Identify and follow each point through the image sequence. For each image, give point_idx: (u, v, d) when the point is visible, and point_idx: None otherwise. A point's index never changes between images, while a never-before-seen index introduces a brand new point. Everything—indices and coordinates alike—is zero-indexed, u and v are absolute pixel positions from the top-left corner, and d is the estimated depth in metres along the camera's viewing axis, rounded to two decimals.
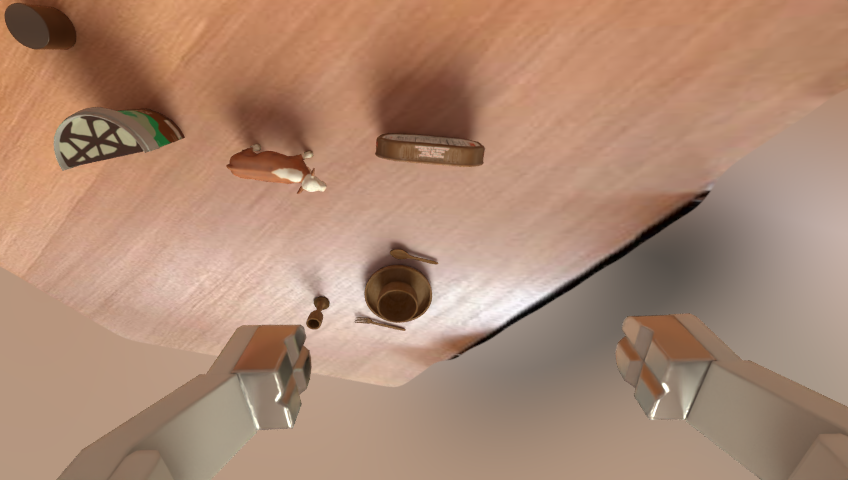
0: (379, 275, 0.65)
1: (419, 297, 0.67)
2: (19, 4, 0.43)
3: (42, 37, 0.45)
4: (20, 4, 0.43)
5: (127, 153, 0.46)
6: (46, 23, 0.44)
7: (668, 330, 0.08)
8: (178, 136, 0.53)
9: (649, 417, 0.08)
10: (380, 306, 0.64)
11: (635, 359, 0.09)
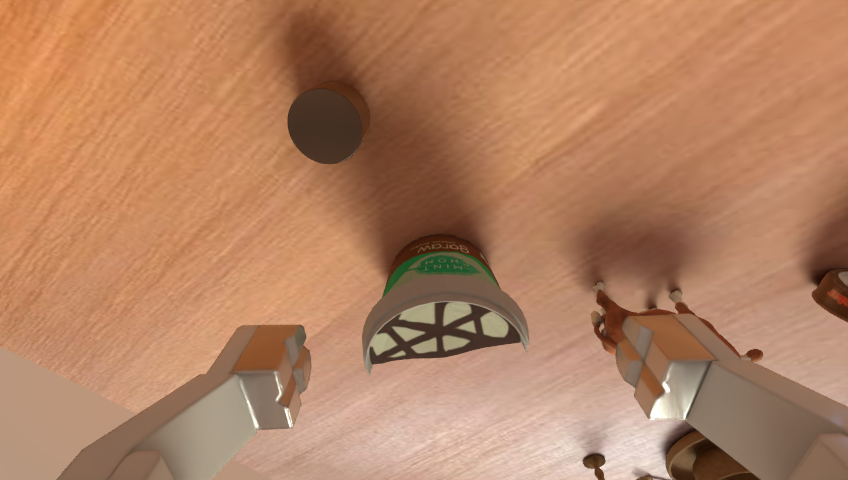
0: None
1: None
2: (323, 90, 0.23)
3: (347, 145, 0.24)
4: (325, 90, 0.23)
5: (483, 346, 0.26)
6: (361, 121, 0.24)
7: (668, 330, 0.08)
8: None
9: (650, 418, 0.08)
10: None
11: (635, 359, 0.09)
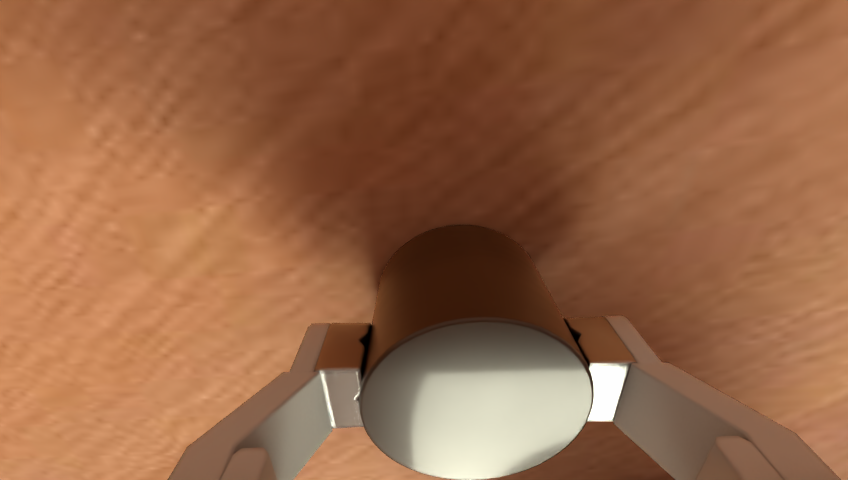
0: None
1: None
2: (496, 324, 0.07)
3: (533, 447, 0.08)
4: (501, 323, 0.07)
5: None
6: (593, 393, 0.07)
7: (596, 332, 0.08)
8: None
9: None
10: None
11: None
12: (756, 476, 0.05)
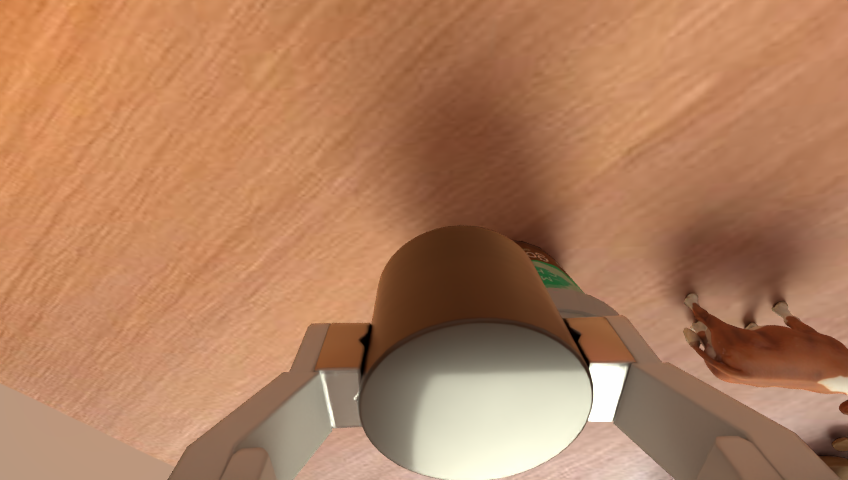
0: None
1: None
2: (495, 325, 0.07)
3: (533, 448, 0.08)
4: (501, 324, 0.07)
5: None
6: (592, 394, 0.07)
7: (596, 332, 0.08)
8: None
9: None
10: None
11: None
12: (756, 476, 0.05)
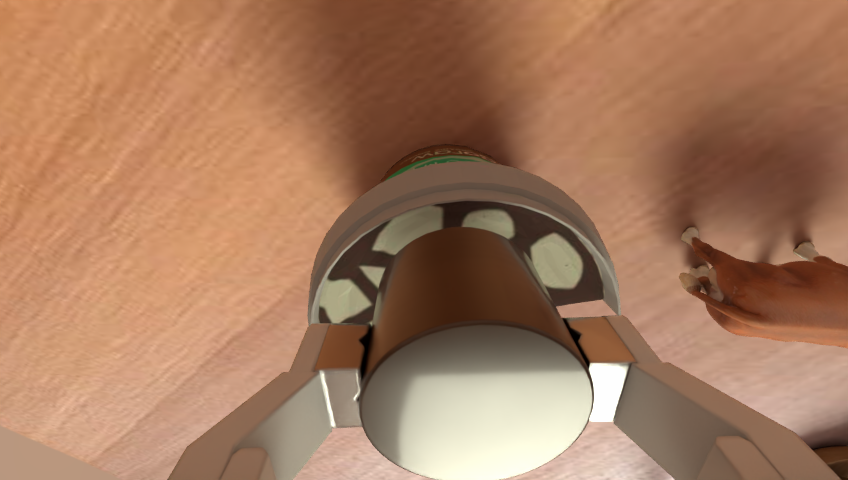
0: None
1: None
2: (495, 326, 0.07)
3: (533, 449, 0.08)
4: (501, 326, 0.07)
5: None
6: (593, 394, 0.07)
7: (596, 332, 0.08)
8: None
9: None
10: None
11: None
12: (756, 476, 0.05)
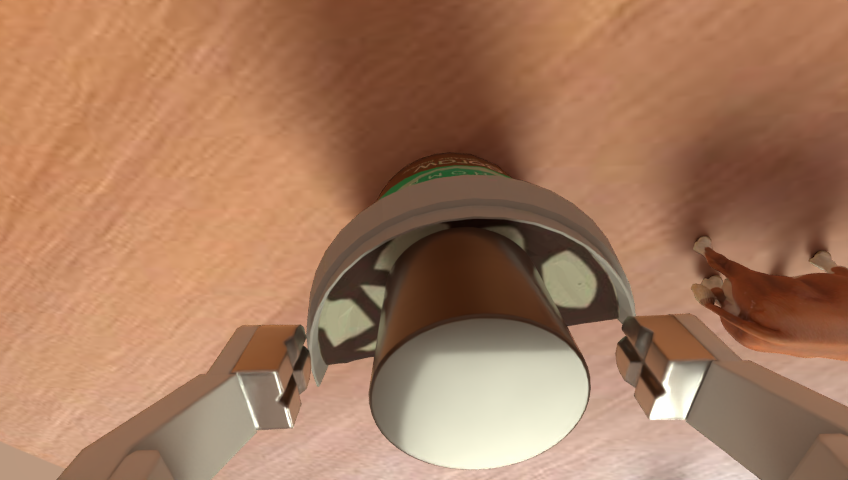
0: None
1: None
2: (497, 320, 0.07)
3: (534, 437, 0.09)
4: (503, 319, 0.07)
5: None
6: (589, 385, 0.08)
7: (668, 330, 0.08)
8: None
9: (649, 417, 0.08)
10: None
11: (635, 359, 0.09)
12: None
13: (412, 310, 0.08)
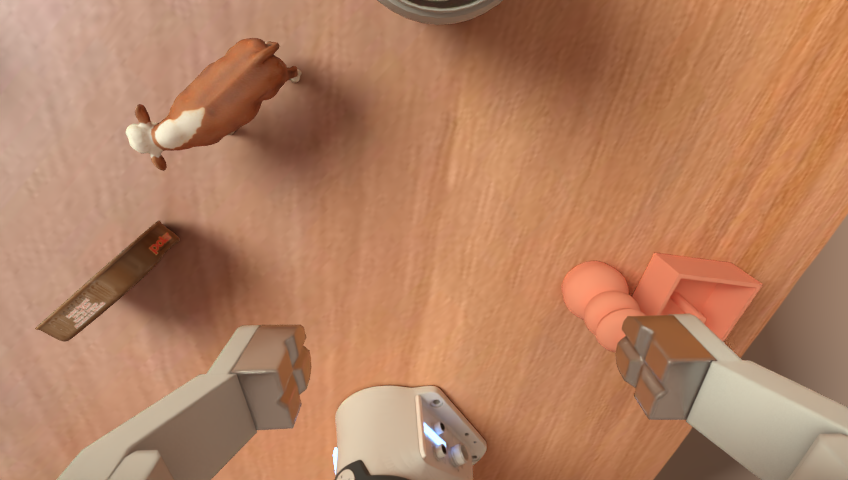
0: None
1: None
2: None
3: None
4: None
5: None
6: None
7: (668, 330, 0.08)
8: None
9: (649, 417, 0.08)
10: None
11: (635, 359, 0.09)
12: None
13: None
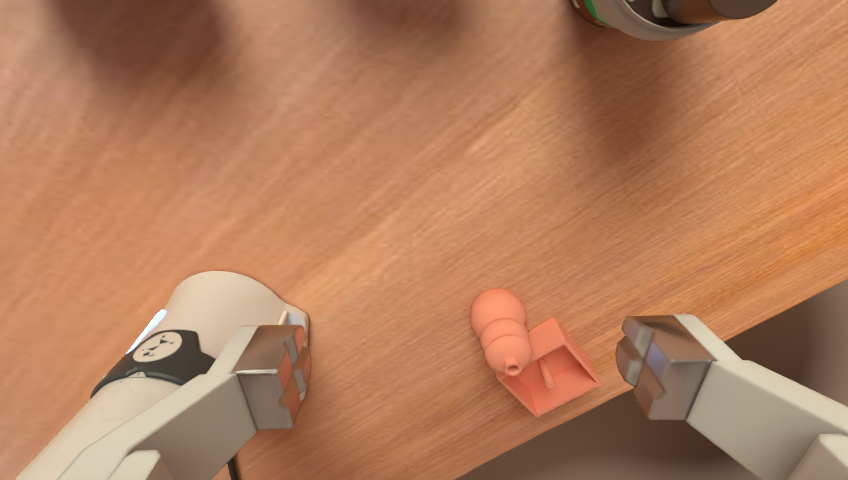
0: None
1: None
2: (734, 16, 0.19)
3: None
4: (731, 16, 0.19)
5: None
6: None
7: (668, 330, 0.08)
8: None
9: (649, 417, 0.08)
10: None
11: (635, 358, 0.09)
12: None
13: None
